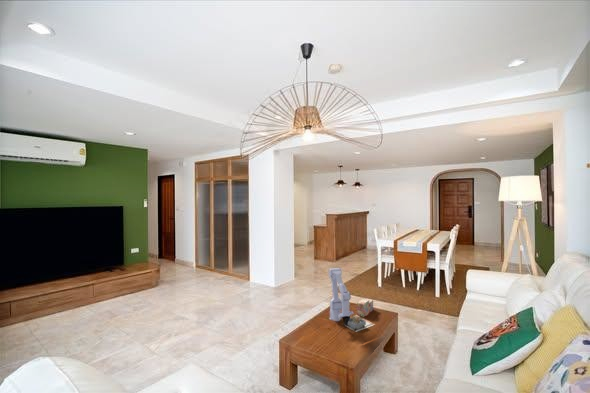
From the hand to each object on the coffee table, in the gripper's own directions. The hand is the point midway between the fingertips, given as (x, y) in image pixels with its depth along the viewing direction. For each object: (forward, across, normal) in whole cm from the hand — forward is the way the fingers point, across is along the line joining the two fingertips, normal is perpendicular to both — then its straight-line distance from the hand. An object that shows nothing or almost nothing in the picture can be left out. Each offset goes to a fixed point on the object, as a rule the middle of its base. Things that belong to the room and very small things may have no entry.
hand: (345, 325), depth 222 cm
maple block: (+1, +12, 0) cm, 12 cm away
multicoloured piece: (+5, +37, +15) cm, 41 cm away
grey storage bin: (+4, +10, 0) cm, 11 cm away
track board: (+5, +15, 0) cm, 16 cm away
